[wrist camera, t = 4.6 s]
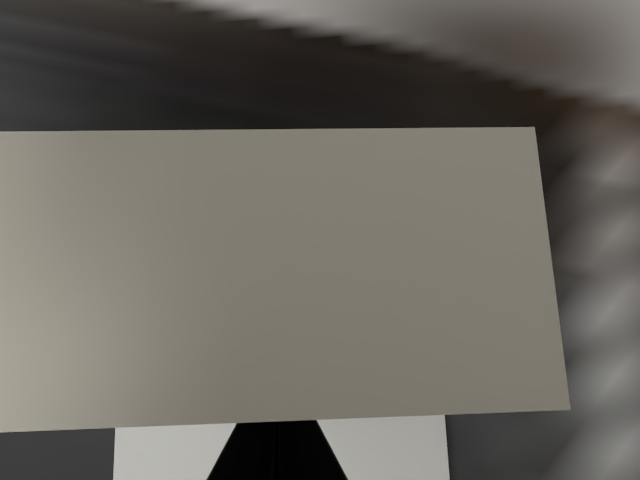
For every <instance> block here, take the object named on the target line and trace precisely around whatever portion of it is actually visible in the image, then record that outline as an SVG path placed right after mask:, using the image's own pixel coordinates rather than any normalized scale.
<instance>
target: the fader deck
mask: <svg viewBox="0 0 640 480" xmlns="http://www.w3.org/2000/svg"><path fill="white" fill-rule="evenodd" d="M317 422H318V424H319V425H320V427H321V429H322V431H323V433H324V435H325V437H326V439H327V441H328V442H329V444H330V446H331V448H332V450H333V452H334V454H335V456H336V458H337V459H338V461H339V463H340V465H341V467H342V469H343V471H344V473H345V475H346V477H347V478H348V480H450V477H449V464H448V452H447V439H446V426H445V415H427V416H402V417H376V418H351V419H326V420H317ZM235 425H236V423H224V424H199V425H173V426H148V427H123V428H116V430H115V452H114V474H113V480H207V478H208V476H209V474H210V472H211V470H212V468H213V466H214V465H215V463H216V461H217V459H218V457H219V455H220V453H221V452H222V450H223V448H224V446H225V444H226V442H227V440H228V438H229V437H230V435H231V433H232V431H233V429H234V427H235Z"/></svg>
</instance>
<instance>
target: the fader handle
mask: <svg viewBox="0 0 640 480" xmlns="http://www.w3.org/2000/svg"><path fill="white" fill-rule="evenodd" d="M554 410H571V408H570V400H569V393H568V385H567V377H566V369H565V361H564V353H563V345H562V337H561V330H560V322H559V314H558V306H557V298H556V290H555V282H554V274H553V267H552V259H551V251H550V243H549V235H548V227H547V219H546V211H545V204H544V196H543V188H542V180H541V172H540V164H539V156H538V148H537V141H536V133H535V127H480V128H365V129H250V130H134V131H19V132H0V432H21V431H46V430H72V429H97V428H123V427H148V426H173V425H199V424H224V423H249V422H275V421H300V420H326V419H351V418H376V417H402V416H427V415H453V414H478V413H503V412H529V411H554Z"/></svg>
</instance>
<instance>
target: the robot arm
mask: <svg viewBox="0 0 640 480" xmlns="http://www.w3.org/2000/svg"><path fill="white" fill-rule="evenodd" d="M207 480H348V478H347V477H346V475H345V473H344V471H343V469H342V467H341V465H340V463H339V461H338V459H337V458H336V456H335V454H334V452H333V450H332V448H331V446H330V444H329V442H328V441H327V439H326V437H325V435H324V433H323V431H322V429H321V427H320V425H319V424H318V422H317V420H300V421H275V422H249V423H236V425H235V427H234V429H233V431H232V433H231V435H230V437H229V438H228V440H227V442H226V444H225V446H224V448H223V450H222V452H221V453H220V455H219V457H218V459H217V461H216V463H215V465H214V466H213V468H212V470H211V472H210V474H209V476H208V478H207Z"/></svg>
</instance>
